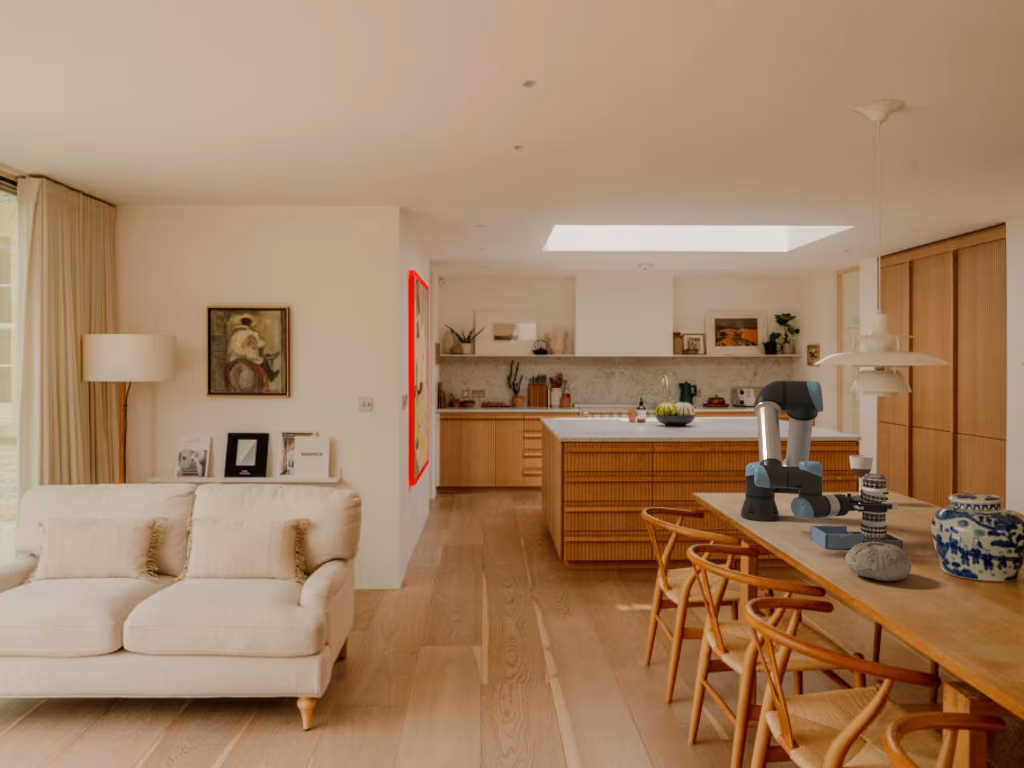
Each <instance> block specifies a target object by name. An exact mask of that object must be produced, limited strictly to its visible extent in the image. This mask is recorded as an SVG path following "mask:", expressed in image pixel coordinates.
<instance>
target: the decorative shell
mask: <svg viewBox="0 0 1024 768" xmlns="http://www.w3.org/2000/svg"><path fill="white" fill-rule="evenodd" d="M844 561H845V564H846V566H847V567H848V568H849V569H850V570H851V572H852V573H854V574H856V575H857V576H861V577H866V578H869V579H870V578H871V579H873V580H877V581H881V582H894V581H895V582H896V581H899V580H903V579H904V578H906V577H908V576H909V574H910V573H911V571H912V563H913V561H912V559H911V558H910V556H909V555H908V552H907V551H905V550H904V549H901V548H900V547H898V546H895V545H893V544H892V545H890V544H885V543H882V542H874V541H872V542H867V543H860V544H857V545H855V546H854V547H852V548H851V549H848V550H847V553H846V554H845V558H844Z"/></svg>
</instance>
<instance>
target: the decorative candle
mask: <svg viewBox="0 0 1024 768" xmlns="http://www.w3.org/2000/svg"><path fill="white" fill-rule="evenodd" d="M887 481H888V478H886V477H885V475H883V474H881V473H871V472H870V473H869V474H866V475H865V476H863V477H862V490H860V489H859V495H860V493H861V495H860V497H861V499H862V500H861V501H863V502H870V503H881V502H888V500H889V498H888V497H887V496H888V495H889V494H890V492H889V491H887V490H888V488H887ZM861 513H862V516H861V523H860V526H861V527H860V531H862V532H861V533H860V534H863V539H864V540H886V538H887V535H886V534H885V533H888V530H887V529H888V525H887V520H886V519H887V517H886V516H887V515H886V514H888V511H887V512H885V513H883V512H866V511H865V512H861Z"/></svg>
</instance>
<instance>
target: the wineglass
mask: <svg viewBox="0 0 1024 768" xmlns="http://www.w3.org/2000/svg"><path fill="white" fill-rule="evenodd" d="M873 459H874V458H873V456H872V455H866V454H865V455H864V454H850V455H849V465H850V470H851V472H852V474H854V475H855V476H858V477H859V491H860V490H862V486H863V479H862V478H863V477H864V476H865V475H866V474H870V473H871V471H872V466H873ZM859 495H861V493H860V492H859ZM859 504H860V503H859Z"/></svg>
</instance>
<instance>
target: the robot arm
mask: <svg viewBox="0 0 1024 768" xmlns="http://www.w3.org/2000/svg"><path fill="white" fill-rule="evenodd" d="M823 399H824V398H823V391H822V385H821V383H820V382H819V381H816V380H805V381H804V380H774V381H772V382H769V383H767V384H766V385H764V386H763V387H762V388H761V390H759V392H758V393H757V395H756V396H755V399H754V403H753V413H754V415H755V416H756V417H757V418H756V419H757V420H756V421H757V437H758V438H757V440H758V457H759V459H758V460H759V461H753V462H750V463H748V464H747V465H746V466H745V474H744V476H745V489H744V490H745V496H744V500H743V504H742V506H741V510H740V517H741V516H742V517H741V518H743V517H744V518H743V519H746V518H747V519H746V520H750V519H751V521H757V520H759V521H758V522H771V521H777V520H779V519H780V512H779V509H778V506H777V502H776V500H775V499H776V497H775V496H776V495H775V494H786V495H787V494H788V495H798V496H797V497H796V496H795V497H794V498H793V499H792V500H791V501H792V502H791V503H790V509H791V512H792V514H793V515H794V517H795V518H797V519H799V520H802V519H803V520H805V519H808V520H811V519H819V518H825V519H829V517H831V518H834V517H844V516H846V515H848V513H849V512H854V511H857V513H862V512H865V511H866V512H883V513H885V512H887V513H888V511H894V510H898V509H899V507H898V505H899V503H898V501H897V500H895V501H887V502H881V503H870V502H863V501H861V500H862V499H861V497H860V494H854V495H852V493H846V494H847V495H846V494H842V493H834V494H823V479H824V478H823V477H824V476H823V465H822V463H820V461H815V460H810V451H811V444H812V443H811V442H812V441H811V440H812V431H813V422H814V420H815V419H816V418H817V417H818V414H819V413H820V412H824V401H823ZM781 412H785V414H786V416H787V417H788V418H789V419H788V431H787V444H786V453H785V454H786V455H785V458H784V459H782V458H783V456H782V443H781V432H780V431H781V430H780V418H779V417H780V415H781ZM859 503H860V504H859Z"/></svg>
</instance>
